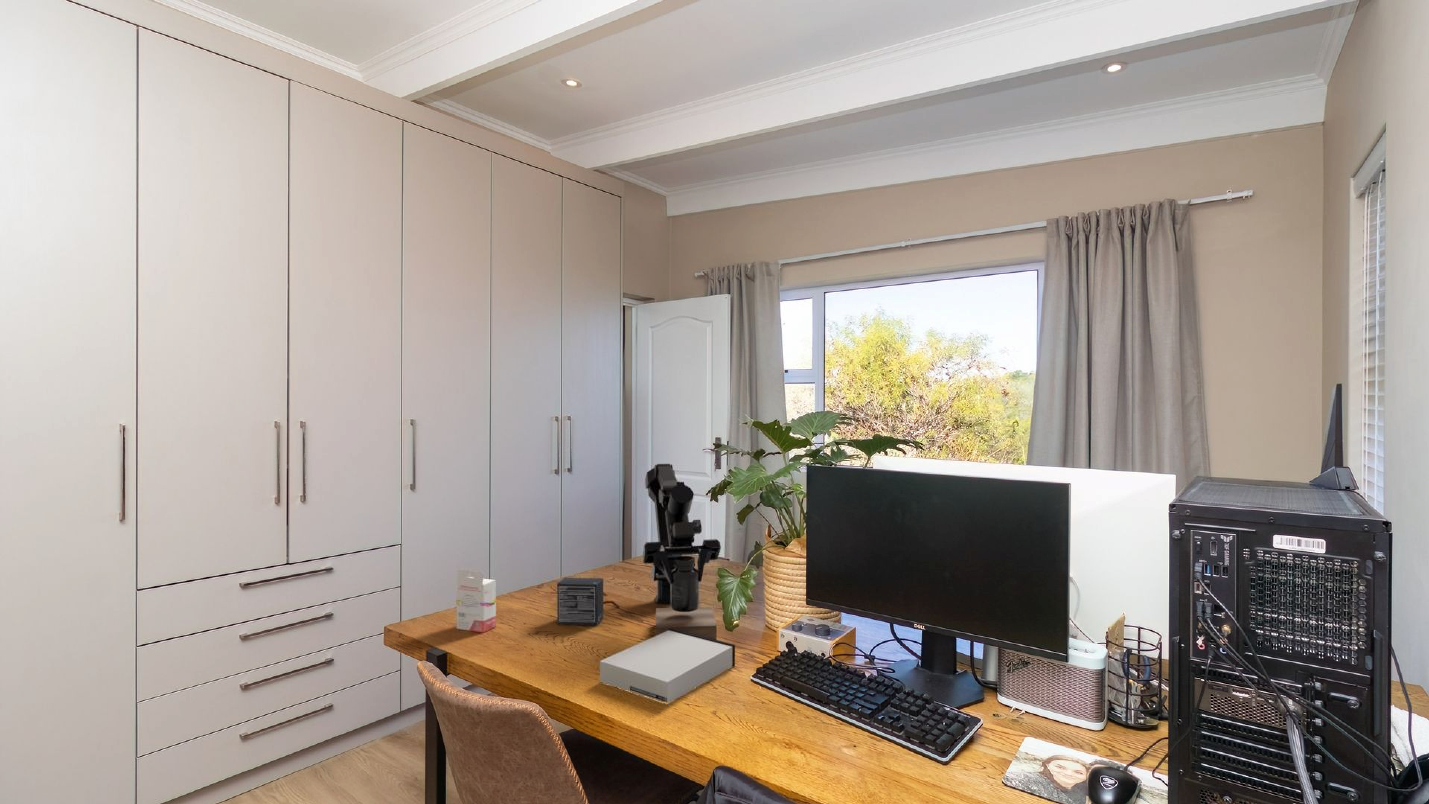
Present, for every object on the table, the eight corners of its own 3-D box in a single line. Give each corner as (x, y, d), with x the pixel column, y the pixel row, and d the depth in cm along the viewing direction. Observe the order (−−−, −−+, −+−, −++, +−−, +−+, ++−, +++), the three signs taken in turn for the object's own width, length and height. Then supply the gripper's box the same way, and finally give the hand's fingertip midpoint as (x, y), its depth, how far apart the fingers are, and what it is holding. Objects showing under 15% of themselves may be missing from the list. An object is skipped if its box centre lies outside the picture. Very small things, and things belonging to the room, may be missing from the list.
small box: (604, 618, 174) (604, 577, 174) (597, 626, 168) (597, 584, 168) (564, 616, 175) (564, 576, 175) (556, 625, 169) (556, 583, 169)
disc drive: (735, 667, 143) (735, 644, 143) (668, 707, 124) (668, 680, 124) (669, 650, 153) (669, 628, 153) (599, 684, 134) (599, 659, 134)
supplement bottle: (688, 601, 167) (688, 553, 167) (704, 608, 162) (704, 558, 162) (665, 607, 163) (665, 557, 163) (681, 614, 158) (681, 563, 158)
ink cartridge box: (497, 627, 167) (497, 567, 167) (483, 633, 162) (483, 572, 162) (469, 622, 170) (469, 564, 170) (455, 628, 166) (455, 568, 166)
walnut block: (656, 624, 169) (656, 608, 169) (712, 623, 170) (712, 607, 170) (655, 644, 155) (655, 627, 155) (716, 643, 156) (716, 625, 156)
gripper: (644, 509, 164) (649, 566, 153) (719, 506, 168) (729, 562, 157) (640, 535, 172) (645, 590, 161) (712, 532, 176) (721, 586, 165)
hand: (685, 582), depth 161 cm, fingers closed on supplement bottle, 7 cm apart
